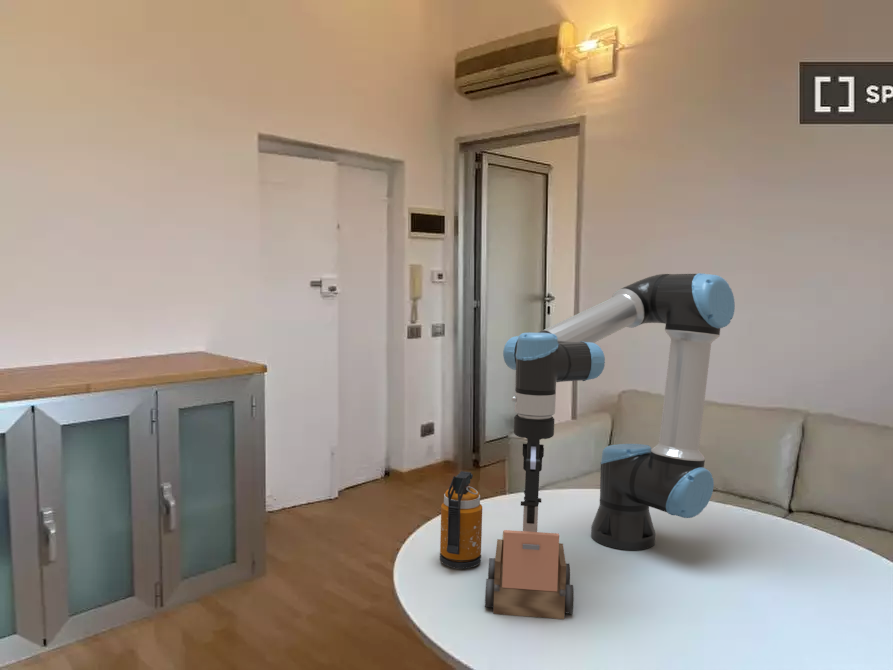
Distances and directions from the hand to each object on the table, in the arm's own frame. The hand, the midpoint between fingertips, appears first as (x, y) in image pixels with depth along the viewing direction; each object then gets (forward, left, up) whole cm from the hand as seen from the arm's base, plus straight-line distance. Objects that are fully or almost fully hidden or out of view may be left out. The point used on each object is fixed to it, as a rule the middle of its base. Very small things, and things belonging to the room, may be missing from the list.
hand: (529, 537), depth 128 cm
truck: (0, -3, -13) cm, 13 cm away
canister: (+15, -16, -13) cm, 26 cm away
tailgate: (0, +5, -8) cm, 9 cm away
